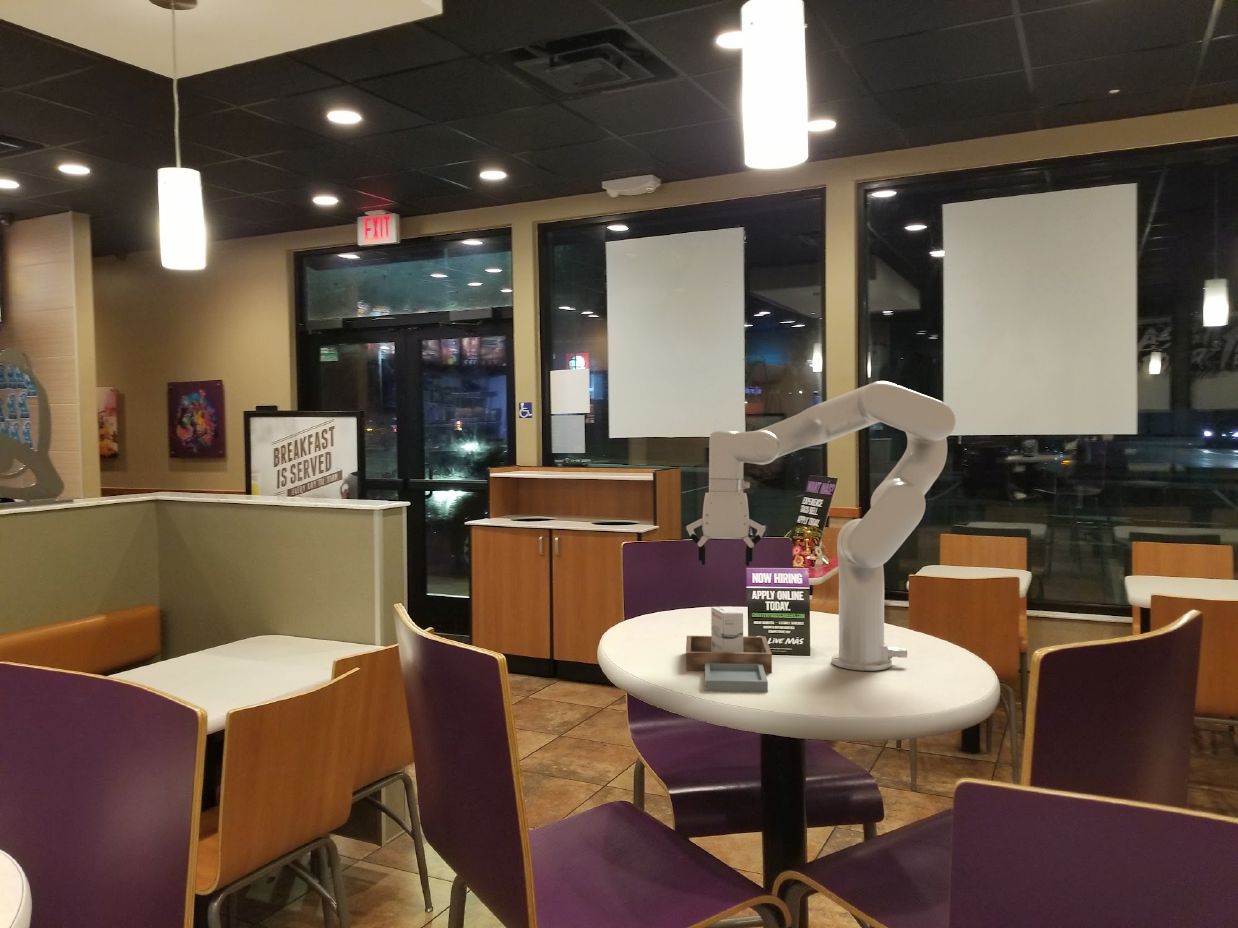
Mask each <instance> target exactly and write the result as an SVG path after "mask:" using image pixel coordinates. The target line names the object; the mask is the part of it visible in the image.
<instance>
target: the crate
mask: <svg viewBox="0 0 1238 928" xmlns="http://www.w3.org/2000/svg"><path fill="white" fill-rule="evenodd" d="M685 644H686V645H685V672H695V673H697V672H698V673H699V672H701V673H705V663H740V664H763V668H764V671H765V674H772V671H773V657H772V656H773V654H772V651H771V649H770V646H769V643H768V640H767V638H766V636H756V635H753V636H752V635H751V636H750V635H749V636H747V635H743V652H711V635H686V643H685Z"/></svg>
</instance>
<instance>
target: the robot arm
mask: <svg viewBox="0 0 1238 928" xmlns="http://www.w3.org/2000/svg"><path fill="white" fill-rule="evenodd" d="M878 423H882V424H885V425H887V426H890V427H893V428H894V429H897V430H899V431H903V432H905V435H906V438H907V439H906V440H907V446H906V448H905V451H904V453H903V455H902V457H901V458H900V459H899V460H898V462H897V463H896V465H895V466H894V468H893V469H892V470H891V471H890V472H889V473H888V475H887V476H886V477H885V478H884V480H883V481H882V482H881V483H880V484H879V485H878V486H877V487H876V488H875V490H874V491H873V492H872V494H871V495H872V496H871V498H870V509H869V510H867V512H866V513H865V514H864V516H863V517H862V518H855V519H851V520H850V521H848V522H846V523H845V524H844V525H843V526H842V527H841V528H840V530H839V532H838V536H837V539H836V552H837V564H838V565H837V567H838V653H835V654H834V655H833V656H831V663H832V664H833V665H834V666H836V667H839V668H842V669H846V670H852V671H864V672H866V671H867V672H873V671H882V670H887V669H890V668H892V665H893V664H892V659H893V658H905V659H907V658H908V649H907V648H899V647H897V646H895V647H894V646H888V645H887V643H885V572H884V564H886V563H887V562H888V561H889V560H890V559H891V558H892V557H893V556H894V554H895V553H896V552H897V551H898V549H900V547H901V546H902V545H903V543H904V542H905V541H906V540H907V538H908V537H909V536H910V535H911V533H912V532H913V531H914V530H915V529H916V527H917V526H918V525H919V523H920V522H921V520H923V516H924V514H925V511H926V506H927V505H926V498H925V495H927V492H928V491H930V489H931V487H932V486H933V484H934V483H935V481H936V480H937V479H938V478H939V476H940V474H941V473H942V471H943V469H944V467H945V464H946V462H947V457H948V439H947V437H949V436H950V435H951V434H952V432H953V431H954V430H955V426H956V416H955V413H954V411H953V409H952V408H951V407H950V406H949V404H947V403H945V402H944V401H942V400H939V399H936V398H934V397H931V396H928V395H926V394H922V393H920V392H917V391H915V390H912V389H910V388H909V389H908V388H906V387H904V386H902V385H897V384H896V383H893V382H890V381H886V380H880V381H879V380H878V381H874V382H870V383H869V384H866V385H863V386H860V387H858V388H856V389H853V390H850V391H847V392H846V393H843V394H841V395H838V396H835V397H833V398H831V399H827V400H826V401H822V402H821V403H820V402H819V403H817V404H815V405H813V406H811V407H808V408H806V409H804V410H803V411H801V412H799V413H796V414H795V415H793V416H790V417H787V418H785V419H783V420H781V421H777V422H776V423H773V424H771V425H769V426H766V427H763V428H761V429H758V430H753V431H752V430H751V431H737V430H716V431H715V430H714V431H712V432H711V434H710V435H709V441H708V444H709V445H708V446H709V447H708V448H709V449H708V450H709V451H708V452H709V453H708V455H709V456H708V459H709V462H708V465H709V466H708V492H705V493H704V494H705V495H704V500H703V506H702V507H703V508H702V518H699V519H698V520H695V521H694V522H692V523H690V524H687V525H686V527H685V530H686V531H687V533H688V535H689V536H690V538H691V540H692V542H694V543H695V544H696V545H697V546H698V562H699V561H700V562H701V566H703V565H706V546H705V543H706V542H707V541H708V540H709V539H721V540H722V539H723V540H727V539H728V540H729V539H731V540H743V542H745V544H746V546H745V556H744V558H745V559H744V565H745V566H747V567H749V566H750V562H752V563H753V548H754V546H755V545H757V544H758V543H759V542H760V541H761V539H762V537H763V536H764V533H765V532H766V529H767V528H766V527H765V526H763V525H761V524H760V523H757V522H756V521H754V520H753V519H750V516H749V515H750V512H749V501H748V496H747V495H748V494H747V493H746V492H744V490H745V489H750V488H751V482H750V481H747V480H746V481H745V480H744V464H745V463H747V464H754V465H755V464H756V465H760V466H762V465H768V464H771V463H772V462H774V461H775V460H776V459H778V458H780V457H782V456H786V455H788V454H791V453H793V452H796V451H799V450H802V449H805V448H809V447H812V446H813V447H814V446H818V445H822V444H823V445H824V444H826V443H829V442H832V441H834V440H837V439H840V438H842V437H844V436H847V435H850V434H853V433H855V432H857V431H860V430H862V429H865V428H868V427H870V426H873V425H876V424H878ZM700 526H701V527H702V533H703V535H702V536H701V537H699V536H698V535H697V534H696V533H695V531H694V530H695V529H697V528H699V527H700ZM750 527H752V528H754V529H756V530H757V531H756V534H755V535H754V536H753V537H752V538H750V537H749V535H750V534H749V533H750Z"/></svg>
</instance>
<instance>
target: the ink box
mask: <svg viewBox="0 0 1238 928" xmlns="http://www.w3.org/2000/svg"><path fill="white" fill-rule="evenodd" d="M710 615H711V616H710V617H711V619H710V622H711V624H710V625H711V628H710V629H711V635H710V636H711V652H743V636H744V613H743V612H741V611H739V610H738V609H737V608H735V607H733V606H712V607H711V614H710Z"/></svg>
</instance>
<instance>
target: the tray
mask: <svg viewBox="0 0 1238 928" xmlns="http://www.w3.org/2000/svg"><path fill="white" fill-rule="evenodd" d="M766 674H767V673H765V671H764V668H763V664H740V663H705V672H704V682H705V683H704V685H705V689H704V690H705V691H707V692H753V693H755V692H757V693H758V692H759V693H760V692H761V693H762V692H763V693H767V692H768V691H769V689H768V687H769V685H768V684H769V681H768V679H767V675H766Z"/></svg>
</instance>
